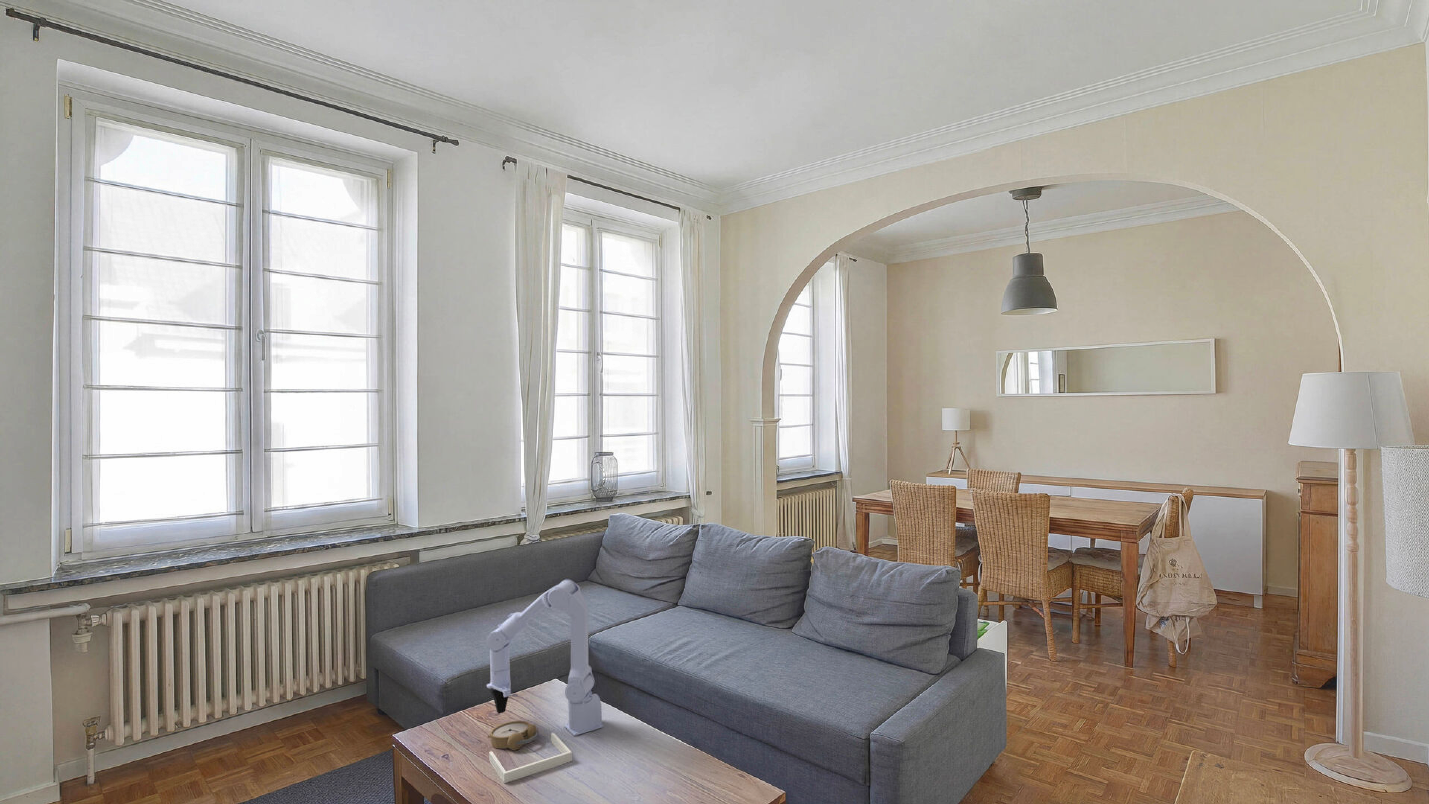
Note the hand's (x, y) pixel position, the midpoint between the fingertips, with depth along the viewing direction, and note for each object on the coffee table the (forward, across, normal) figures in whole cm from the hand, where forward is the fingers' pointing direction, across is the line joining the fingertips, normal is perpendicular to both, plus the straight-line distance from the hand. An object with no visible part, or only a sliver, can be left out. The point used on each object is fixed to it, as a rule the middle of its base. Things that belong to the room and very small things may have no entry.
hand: (501, 712), depth 214 cm
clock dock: (+4, +27, 0) cm, 27 cm away
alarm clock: (+4, +13, 0) cm, 14 cm away
